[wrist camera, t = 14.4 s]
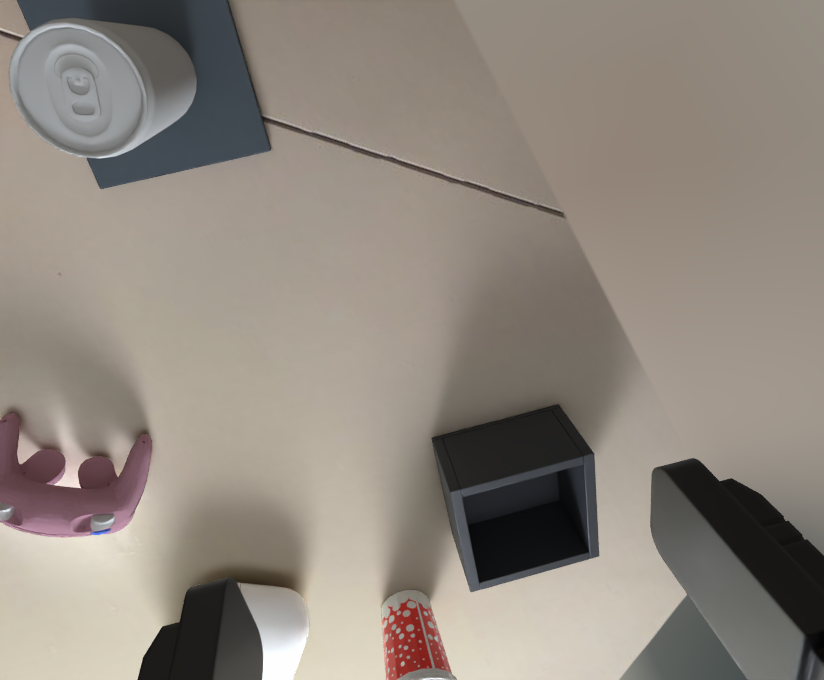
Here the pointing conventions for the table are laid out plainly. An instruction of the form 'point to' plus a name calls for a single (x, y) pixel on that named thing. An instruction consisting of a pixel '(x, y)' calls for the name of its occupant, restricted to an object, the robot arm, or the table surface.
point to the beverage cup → (412, 639)
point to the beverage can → (100, 84)
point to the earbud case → (278, 627)
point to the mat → (215, 91)
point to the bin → (519, 496)
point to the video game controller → (68, 489)
